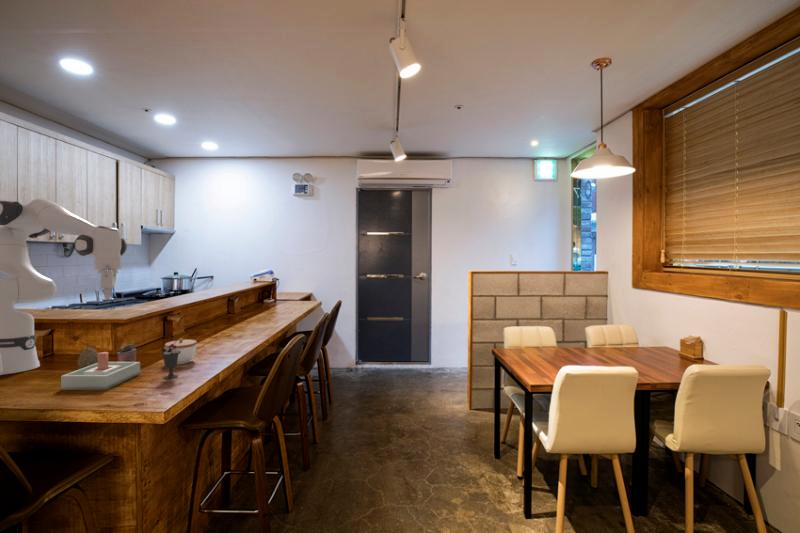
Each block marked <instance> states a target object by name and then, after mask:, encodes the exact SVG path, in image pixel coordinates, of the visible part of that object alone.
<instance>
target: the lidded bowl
mask: <svg viewBox="0 0 800 533" xmlns="http://www.w3.org/2000/svg"><path fill="white" fill-rule="evenodd" d="M175 342H176V343H175ZM197 343H198V342H197V340H196V339H183V338H182V337H181V338H179V339H177V341H176V340H173V341H172V340H171V341H169V342H166V343H164V348H165V349H166V348H167V347H168V346H171V344H174V346H175V345H176V346H177V347H176V348H177V349H178V350H179V351H180V353H179V355H178V360H177V365H183V364H184V365H185V364H187V363H190V362H191V360H192V359H193V358H194V357H195V356H196V352H197Z"/></svg>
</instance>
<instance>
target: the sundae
mask: <svg viewBox="0 0 800 533" xmlns="http://www.w3.org/2000/svg"><path fill="white" fill-rule="evenodd" d="M177 340H178V339H177ZM177 340H175V341H177ZM175 343H176V342H175ZM176 347H177V346H176V345H175V346H174V344H171V346H168V347H167V348H166V349H165V347H162V348H161V350H162V352H161V353H160V354H161V355H162V357H163V363H164V366H165V368H166V369H168V371H169V373H168V374H167V375H166V376H164V377H163V379H164V380H174V379H176V378H178V377H179V375H177V374H174V372H173V371H174V370H173V369H174V368H175V367H176V366H178V364H177V360H178V355H179V353H180V351H179V350H178V349H177V348H176Z"/></svg>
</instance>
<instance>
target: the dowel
mask: <svg viewBox="0 0 800 533" xmlns="http://www.w3.org/2000/svg"><path fill="white" fill-rule="evenodd" d="M97 353H98V354H97V355H98V370H107V369H108V362H109V352H108V351H104V352H97Z"/></svg>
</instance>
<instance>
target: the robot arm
mask: <svg viewBox="0 0 800 533" xmlns="http://www.w3.org/2000/svg"><path fill="white" fill-rule="evenodd" d="M50 232H52V233H55V234H60V235H61V234H62V235H71V236H77V237H76V239H74V242H73V244H74V245H73V246H74V250H75V252H76V253H77V254H78V255H79V256H81V257H88V258H90V257H91V258H94V266H93V267H94V270H98V274H100V288H101V289H102V290H103V294H104V300H110V299H111V297H112V295H113V287H114V286H115V285H116V280H117V274H118V271H119V270H122V256H123V255H124V254H125V252H126V251H127V248H128V246H127V242H126V240H125V239H124V238H123V237H122V236H121V233H120V230H119V229H118V228H117V227H115V226H106V225H99V226H98V225H96V224H93V223H92V222H89V221H88V220H85V219H83V218H81V217H80V216H78V215H76V214H74V213H72V212H71V211H69V210H67V209H66V208H65V207H63V206H61V205H60V204H58V203H56V202H55V201H52V200H50V199H48V198H41V197H40V198H35V199H32V200H31V201H30V202H29V203H28V204H21V203H20V202H19V201H10V200H9V201H8V200H0V273H1V274H4V275H7V276H10V277H0V376H2V375H10V374H16V373H22V372H26V371H30V370H34V369H37V368H40V366H41V363H40V360H39V358H38V353H37V347H36V342H37V337H36V336H37V335H36V333H35V317H34V316H33V314H31V313H28V312H26V311H22V310H18V309H16V308H15V307H14V305H16V304H25V303H26V304H27V303H38V302H44V301H48V300H51V299H53V298H54V297H55V296H56V294H57V292H58V287H57V283H55V281H54V280H53V279H52V278H49V277H48V276H45V275H43V274H41V273H40V272H38V271H37V270H36V269H35V268H34V266H33V265H32V263H31V260H30V256H29V250H28V245H27V239H28V238H30V239H36V238H38V237H40V236H42V237H43V236H44V235H46V234H49V233H50Z"/></svg>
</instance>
